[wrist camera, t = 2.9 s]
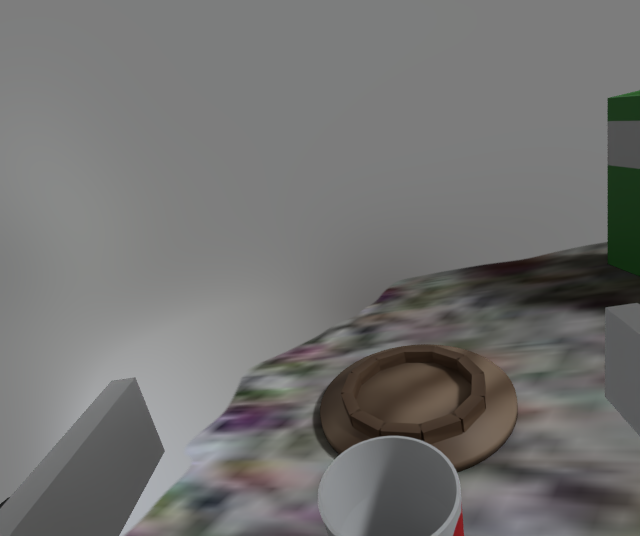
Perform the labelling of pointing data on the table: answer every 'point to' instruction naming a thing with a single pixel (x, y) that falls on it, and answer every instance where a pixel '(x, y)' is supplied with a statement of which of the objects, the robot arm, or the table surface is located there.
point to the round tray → (423, 402)
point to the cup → (391, 490)
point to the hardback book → (624, 182)
